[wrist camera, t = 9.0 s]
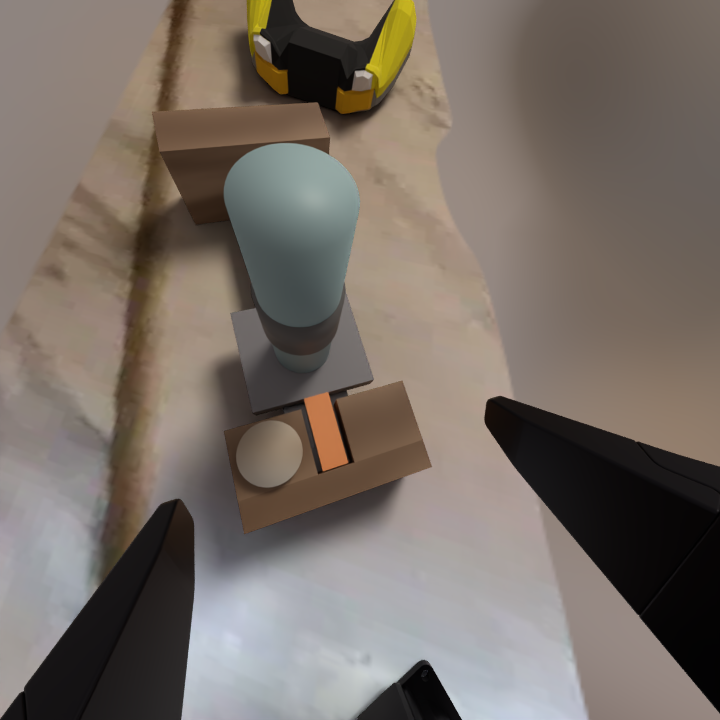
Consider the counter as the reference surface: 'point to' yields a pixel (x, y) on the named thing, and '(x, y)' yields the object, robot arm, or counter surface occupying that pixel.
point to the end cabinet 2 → (296, 462)
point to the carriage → (295, 274)
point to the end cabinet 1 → (228, 146)
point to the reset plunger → (325, 431)
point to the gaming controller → (329, 55)
